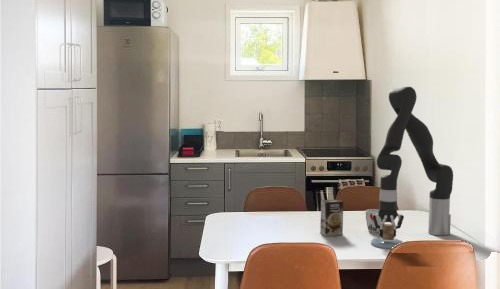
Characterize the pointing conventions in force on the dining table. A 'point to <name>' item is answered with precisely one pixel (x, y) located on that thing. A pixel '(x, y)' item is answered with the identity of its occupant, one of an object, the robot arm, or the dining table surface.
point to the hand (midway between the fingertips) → (387, 237)
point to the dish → (385, 243)
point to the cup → (370, 220)
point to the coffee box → (331, 217)
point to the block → (388, 232)
